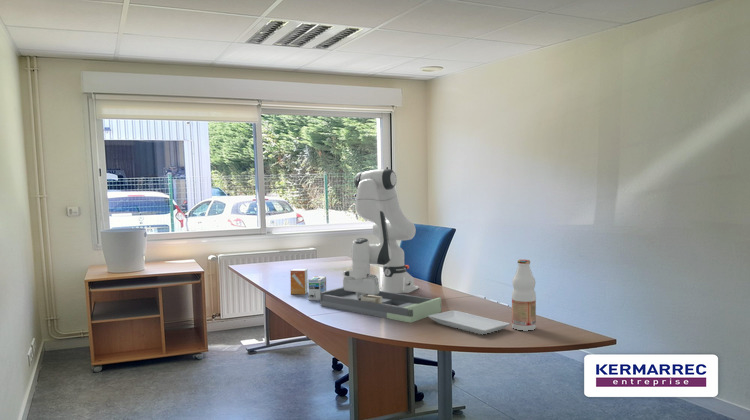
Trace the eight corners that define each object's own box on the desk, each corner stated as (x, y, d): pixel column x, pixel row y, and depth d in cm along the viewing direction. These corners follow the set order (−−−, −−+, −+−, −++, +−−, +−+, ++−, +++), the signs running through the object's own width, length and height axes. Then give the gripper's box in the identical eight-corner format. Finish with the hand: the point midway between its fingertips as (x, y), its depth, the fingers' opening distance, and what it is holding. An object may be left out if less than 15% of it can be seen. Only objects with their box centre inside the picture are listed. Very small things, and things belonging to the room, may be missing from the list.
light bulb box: (320, 300, 284) (320, 279, 283) (308, 300, 285) (307, 279, 284) (326, 296, 294) (326, 276, 294) (314, 296, 295) (314, 275, 295)
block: (369, 303, 266) (369, 294, 266) (382, 305, 261) (382, 296, 261) (361, 305, 261) (360, 296, 261) (374, 307, 256) (374, 299, 256)
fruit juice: (515, 332, 223) (516, 262, 221) (508, 325, 232) (509, 258, 230) (539, 331, 223) (539, 261, 222) (531, 325, 233) (531, 258, 231)
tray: (453, 316, 250) (453, 309, 249) (511, 331, 225) (511, 322, 225) (426, 323, 239) (426, 315, 239) (484, 339, 215) (484, 330, 214)
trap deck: (353, 297, 291) (353, 284, 291) (441, 311, 257) (441, 297, 257) (320, 305, 273) (320, 292, 272) (410, 322, 239) (410, 307, 238)
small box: (290, 294, 300) (290, 270, 299) (293, 292, 306) (292, 268, 305) (305, 294, 299) (305, 270, 298) (308, 292, 305) (307, 268, 305)
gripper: (382, 274, 260) (382, 303, 261) (349, 270, 273) (350, 298, 274) (373, 276, 255) (373, 306, 256) (340, 271, 268) (341, 300, 269)
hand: (361, 302), depth 265 cm, fingers closed
